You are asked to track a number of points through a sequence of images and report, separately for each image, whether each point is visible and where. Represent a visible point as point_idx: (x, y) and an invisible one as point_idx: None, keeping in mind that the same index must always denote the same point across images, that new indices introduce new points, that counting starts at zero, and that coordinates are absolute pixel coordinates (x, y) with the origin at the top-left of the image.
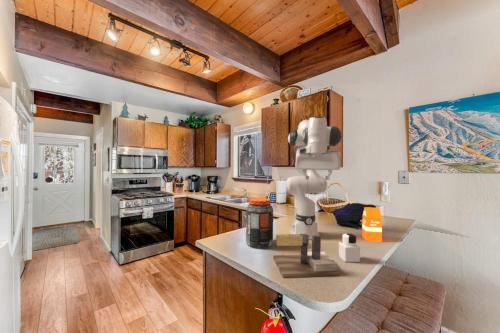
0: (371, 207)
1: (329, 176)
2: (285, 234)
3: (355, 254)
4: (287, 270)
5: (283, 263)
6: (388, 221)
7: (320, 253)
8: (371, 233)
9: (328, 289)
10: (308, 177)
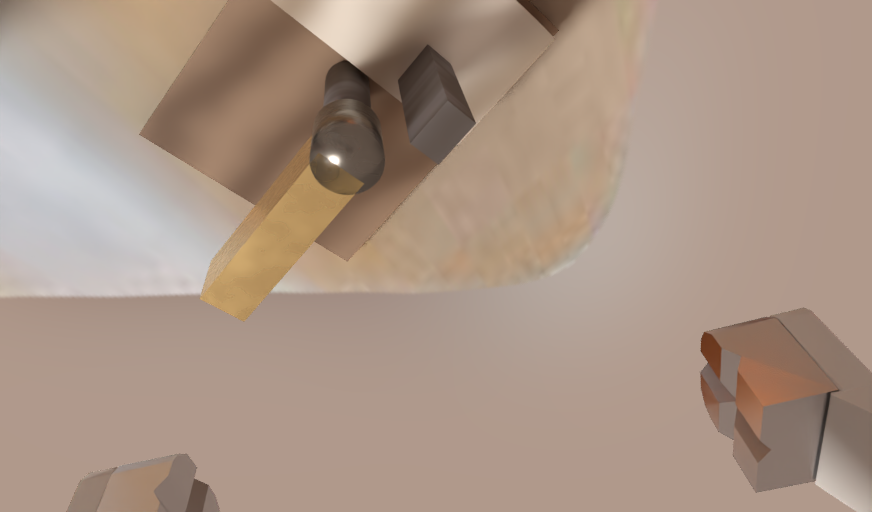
0: None
1: (869, 374)
2: (240, 251)
3: None
4: (340, 221)
5: (270, 177)
6: None
7: None
8: None
9: (547, 188)
10: (160, 501)
